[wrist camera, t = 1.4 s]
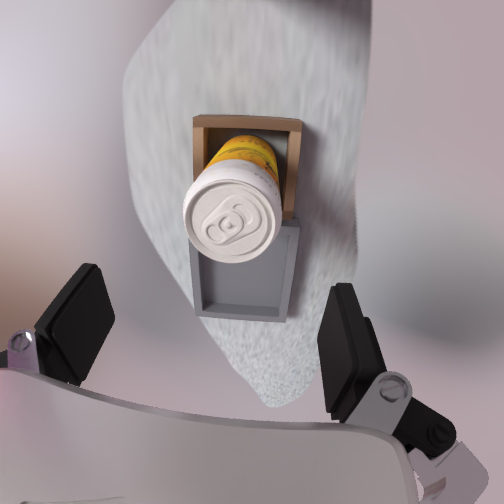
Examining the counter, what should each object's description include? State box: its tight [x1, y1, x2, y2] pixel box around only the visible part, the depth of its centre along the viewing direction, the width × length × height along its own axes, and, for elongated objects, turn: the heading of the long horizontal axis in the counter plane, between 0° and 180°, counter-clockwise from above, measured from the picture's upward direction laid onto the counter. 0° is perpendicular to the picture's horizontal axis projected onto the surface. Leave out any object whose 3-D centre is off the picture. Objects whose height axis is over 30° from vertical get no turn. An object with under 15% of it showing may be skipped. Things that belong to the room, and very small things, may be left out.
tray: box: [188, 217, 300, 323], centre depth 35 cm, size 14×12×2 cm
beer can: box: [183, 135, 282, 263], centre depth 23 cm, size 6×6×15 cm
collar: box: [193, 115, 302, 220], centre depth 28 cm, size 10×10×3 cm
